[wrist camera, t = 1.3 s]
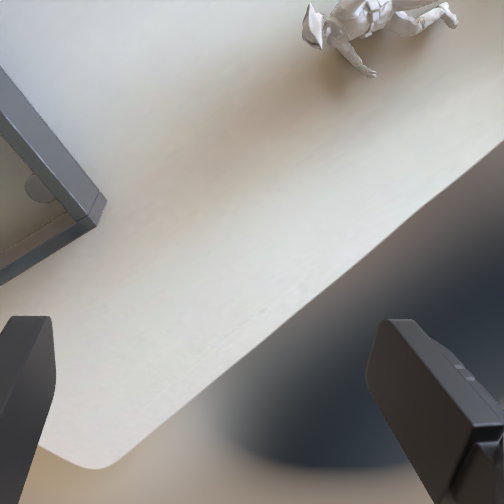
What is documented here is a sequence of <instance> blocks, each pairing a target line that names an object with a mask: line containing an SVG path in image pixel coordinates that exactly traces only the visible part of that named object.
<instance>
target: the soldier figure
mask: <svg viewBox="0 0 504 504" xmlns="http://www.w3.org/2000/svg"><path fill="white" fill-rule="evenodd" d="M435 1H438V0H340V1H339V3H338V4H337V6H336V7H335V9H334V11H333V12H331V14H330V15H331V16H330V18H328V19H327V20H326V19H325V20H326V21H325V23H324V27H323V31H324V33H325V34H326V36H327V42H328V44H329V45H332V46H333V47H335V48H336V49H338V50H339V51H340V52H341V54H342V55H343V56H344V57H345V58H346V59H347V60H348V61H349V62H350V63H351V64H352V65H353V66H354V67H355V68H356V69H357V68H358V69H359V71H360V72H361V73H362V74H363V75H364V76H366V77H367V78H369V79H373V78H376V77H375V76H377V75H376V74H372V73H377V72H375V71H371V70H370V69H368V68H367V67H366V66H364V65H363V64H362V60H361V58H360V57H359V56H358V54H357V53H356V51H355V49H354V48H353V47H352V45H351V44H350V43H349V41H350V40H352V39H355V38H356V39H359V38H361V39H363V38H366V37H369V36H370V35H372V32H375V31H376V30H379V29H382V28H383V29H385V30H388V31H390V32H392V33H394V34H397V35H401V36H404V37H410V36H412V35H416V34H420V33H422V30H424V29H425V28H426V27H428V26H429V25H430V24H432V23H433V22H435V21H436V20H438V19H440V18H441V19H443V20H444V22H445V23H446V24H447V25H448V27H449V28H451V29H455V28H456V27H457V25H458V19H457V17H456V15H454V14H452V13H451V12H450V11H449V5H448V3H446V2H444V3H442V4H440V5H439V6H437V8H434V9H432V10H430V11H429V12H427V13H424V14H423V15H421V16H419V17H417V18H416V20H414V19H413V17H408V16H407V15H406V13H404V12H402V11H405V10H411V9H415V8H419V7H421V6H425V5H429V4H432V3H433V2H435ZM323 15H324V14H323ZM323 18H324V16H322V15H321V14H320V13H316V12H315V11H314V9H313V7H312V5H311V3H310V4H309V5H308V8H307V12H306V15H305V17H304V20H303V30H302V39H303V40H304V41H306V42H307V43H308V44H309V45H310V46H312V47H314V48H317V49H320V50H321V49H322V27H321V20H322V19H323ZM326 36H325V37H326ZM325 37H324V38H325Z"/></svg>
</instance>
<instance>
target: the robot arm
mask: <svg viewBox="0 0 504 504" xmlns="http://www.w3.org/2000/svg"><path fill="white" fill-rule="evenodd" d="M366 381H367V386H368V389H369V391H370V392H371V395H372V396H373V398H374V400H375V401H376V403H377V405H378V407H379V408H380V410H381V412H382V414H383V415H384V417H385V419H386V421H387V422H388V424H389V426H390V428H391V429H392V431H393V433H394V434H395V436H396V438H397V440H398V441H399V443H400V445H401V447H402V448H403V450H404V452H405V454H406V455H407V457H408V459H409V460H410V462H411V464H412V466H413V467H414V469H415V471H416V473H417V474H418V476H419V478H420V480H421V481H422V483H423V485H424V486H425V488H426V490H427V492H428V494H429V495H430V497H431V499H432V500H433V502H434V504H504V409H503V408H502V407H501V406H500V405H499V403H498V402H497V401H496V400H495V399H494V398H493V397H492V396H491V395H490V394H489V393H488V391H486V389H485V388H484V387H483V386H482V385H481V384H480V383H479V382H478V381H475V377H474V376H473V375H472V374H471V373H470V372H469V371H468V370H467V369H464V365H463V364H462V363H461V362H460V361H459V360H458V359H457V358H456V357H455V355H454V354H452V352H451V351H450V350H448V349H447V348H445V347H444V346H442V345H441V344H439V343H438V342H436V341H435V340H433V339H430V338H429V337H428V335H427V334H426V333H425V332H424V331H423V330H422V329H421V327H420V326H419V325H418V324H417V323H416V322H415V321H413V320H409V319H408V320H407V319H384V320H382V321H381V322H380V323H379V325H378V328H377V332H376V335H375V339H374V342H373V345H372V349H371V352H370V356H369V359H368V363H367V366H366ZM55 384H56V365H55V353H54V342H53V330H52V322H51V318H50V317H49V316H12V317H11V318H10V319H9V320H8V322H7V324H6V325H5V327H4V329H3V330H2V332H1V334H0V504H18V502H19V499H20V496H21V493H22V490H23V487H24V484H25V481H26V478H27V475H28V472H29V469H30V466H31V463H32V460H33V457H34V454H35V451H36V448H37V445H38V442H39V439H40V436H41V433H42V430H43V427H44V424H45V421H46V418H47V415H48V412H49V409H50V406H51V403H52V400H53V396H54V391H55Z"/></svg>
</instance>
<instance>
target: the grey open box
mask: <svg viewBox="0 0 504 504" xmlns="http://www.w3.org/2000/svg"><path fill="white" fill-rule="evenodd" d="M0 134H1V135H2V136H3V137H4V139H5V140H6V141H7V142H8V143H9V144H10V146H11V147H12V148H13V149H14V150H15V151H16V153H17V154H18V155H19V156H20V157H21V158H22V159H23V161H24V162H25V163H26V164H27V165H28V166H29V168H30V169H31V170H32V171H33V172H34V173H35V174H32V175H31V176H29V177H28V178H27V180H26V182H25V190H26V192H27V194H28V196H29V197H30V198H31V199H33V200H34V201H37V202H40V203H48V202H51V201H53V200H54V199H55V198H56V199H57V200H58V201H59V202H60V204H61V205H62V206H63V207H64V208H65V209H66V211H67V212H66V213H64V214H62V215H61V216H59V217H58V218H56V219H54V220H53V221H51V222H50V223H48V224H46V225H45V226H43V227H42V228H40V229H38V230H37V231H35V232H34V233H32V234H30V235H29V236H27V237H26V238H24V239H22V240H21V241H19V242H18V243H16V244H14V245H13V246H11V247H10V248H8V249H7V250H5V251H3V252H2V253H0V286H1V285H3V284H5V283H6V282H8V281H9V280H11V279H13V278H14V277H16V276H17V275H19V274H21V273H22V272H24V271H26V270H27V269H29V268H30V267H32V266H34V265H35V264H37V263H38V262H40V261H42V260H43V259H45V258H47V257H48V256H50V255H51V254H53V253H55V252H56V251H58V250H59V249H61V248H63V247H64V246H66V245H68V244H69V243H71V242H72V241H74V240H76V239H77V238H79V237H80V236H82V235H84V234H85V233H87V232H89V231H90V230H92V229H93V228H95V227H97V225H98V223H99V220H100V218H101V215H102V213H103V210H104V208H105V205H106V203H107V200H106V198H105V197H104V196H103V195H102V193H101V192H99V189H98V188H97V187H96V186H95V184H94V183H93V182H92V181H91V179H90V178H89V177H88V176H87V174H86V173H85V172H84V171H83V169H82V168H81V167H80V166H79V164H78V163H77V162H76V160H75V159H74V158H73V157H72V155H71V154H70V153H69V152H68V150H67V149H66V148H65V147H64V145H63V144H62V143H61V142H60V140H59V139H58V138H57V137H56V135H55V134H54V133H53V132H52V130H51V129H50V128H49V127H48V125H47V124H46V123H45V122H44V120H43V119H42V118H41V117H40V115H39V114H38V113H37V112H36V110H35V109H34V108H33V107H32V105H31V104H30V103H29V102H28V100H27V99H26V98H25V96H24V95H23V94H22V93H21V91H20V90H19V89H18V88H17V86H16V85H15V84H14V83H13V81H12V80H11V79H10V78H9V76H8V75H7V74H6V73H5V71H4V70H3V69H2V68H1V66H0Z"/></svg>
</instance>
